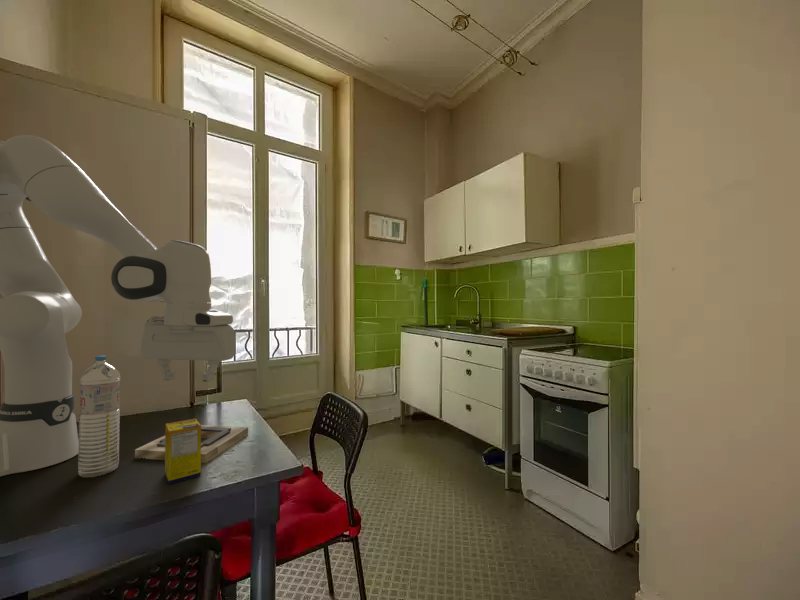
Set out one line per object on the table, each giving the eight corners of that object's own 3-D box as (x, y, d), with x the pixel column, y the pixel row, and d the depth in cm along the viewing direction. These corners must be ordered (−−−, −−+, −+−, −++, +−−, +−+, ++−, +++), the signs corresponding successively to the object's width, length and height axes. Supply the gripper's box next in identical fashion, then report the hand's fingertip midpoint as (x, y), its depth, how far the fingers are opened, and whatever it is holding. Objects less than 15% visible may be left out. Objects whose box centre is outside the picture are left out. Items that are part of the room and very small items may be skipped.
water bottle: (87, 466, 80) (89, 354, 80) (124, 462, 82) (125, 353, 82) (70, 481, 74) (73, 359, 74) (111, 476, 76) (113, 357, 76)
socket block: (134, 458, 85) (135, 447, 85) (188, 431, 102) (189, 422, 102) (205, 463, 82) (205, 452, 82) (248, 434, 100) (248, 425, 100)
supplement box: (195, 466, 81) (196, 417, 81) (201, 476, 76) (201, 424, 76) (164, 474, 77) (164, 423, 77) (167, 485, 72) (168, 431, 72)
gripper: (132, 316, 76) (132, 382, 76) (221, 317, 73) (221, 385, 73) (157, 315, 82) (157, 376, 82) (239, 316, 79) (239, 378, 79)
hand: (188, 380), depth 77 cm, fingers open, 8 cm apart
